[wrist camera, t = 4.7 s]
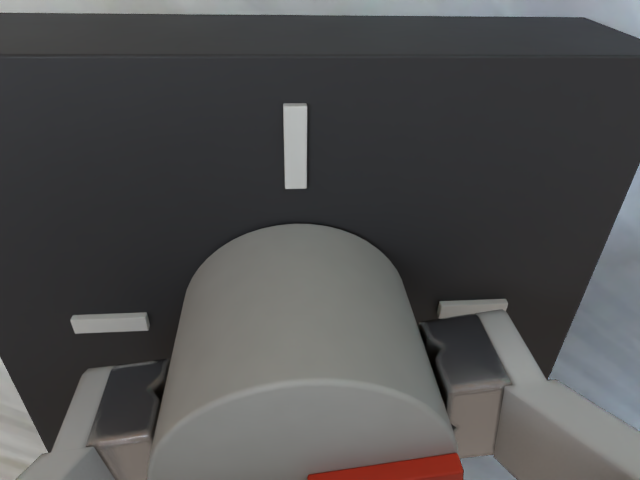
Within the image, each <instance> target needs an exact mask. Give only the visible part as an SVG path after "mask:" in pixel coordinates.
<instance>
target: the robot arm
mask: <svg viewBox="0 0 640 480" xmlns="http://www.w3.org/2000/svg"><path fill="white" fill-rule="evenodd" d="M418 329H419V332H420V335H421V338H422V341H423V344H424V347H425V350H426V352H427V355H428V358H429V361H430V364H431V367H432V370H433V373H434V376H435V379H436V382H437V385H438V388H439V391H440V394H441V397H442V399H443V402H444V405H445V408H446V411H447V414H448V417H449V420H450V423H451V426H452V429H453V432H454V435H455V438H456V441H457V445H458V455H459V458H468V457H477V456H485V455H493V454H494V458H495V459H496V460H497V461H498V462H499V463H500V464H501V465H502V466H503V467H504V468H505V469H507V470H508V471H509V472H510V473H511V474H512V475H513V476H514V477H515V478H516V479H517V480H640V431H638V430H636V429H635V428H633V427H632V426H630V425H628V424H627V423H625V422H624V421H622V420H620V419H619V418H617V417H616V416H614V415H612V414H611V413H609V412H608V411H606V410H604V409H603V408H601V407H599V406H598V405H596V404H595V403H593V402H591V401H590V400H588V399H587V398H585V397H583V396H582V395H580V394H579V393H577V392H575V391H574V390H572V389H571V388H569V387H567V386H566V385H564V384H562V383H561V382H559V381H558V380H556V379H555V380H546V378H545V376H544V375H543V373H542V371H541V369H540V368H539V366H538V364H537V363H536V361H535V359H534V358H533V356H532V354H531V352H530V351H529V349H528V347H527V346H526V344H525V342H524V341H523V339H522V337H521V335H520V334H519V332H518V330H517V329H516V327H515V325H514V324H513V322H512V320H511V318H510V317H509V315H508V313H507V312H505V311H504V310H503V309H499V310H493V311H486V312H480V313H475V314H466V315H460V316H453V317H447V318H440V319H434V320H428V321H421V322H419V326H418ZM170 361H171V358H168V359H160V360H151V361H143V362H134V363H126V364H118V365H113V366H105V367H97V368H88V369H87V370H86V371H85V372H84V374H83V375H82V376H81V378H80V380H79V383H78V385H77V388H76V390H75V393H74V396H73V398H72V401H71V403H70V406H69V408H68V411H67V413H66V416H65V418H64V421H63V423H62V426H61V428H60V431H59V433H58V436H57V438H56V441H55V443H54V446H53V448H52V451H51V452H50V453H44V454H41V455H40V456H39V457H38V458H37V459H36V460H35V461H34V462H33V463H32V464H31V465H30V466H29V467H28V468H27V469H26V470H25V471H24V472H23V473H22V474H21V475H20V476H19V477H17V478H16V479H15V480H147V466H148V461H149V457H150V452H151V448H152V443H153V439H154V434H155V430H156V425H157V420H158V416H159V411H160V407H161V402H162V398H163V393H164V389H165V384H166V380H167V375H168V371H169V366H170Z"/></svg>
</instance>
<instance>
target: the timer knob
mask: <svg viewBox="0 0 640 480" xmlns="http://www.w3.org/2000/svg"><path fill="white" fill-rule="evenodd" d="M463 473H464V470H463V467H462V464H461V461H460V458H459V455H458V445H457V441H456V438H455V435H454V432H453V429H452V426H451V423H450V420H449V417H448V414H447V411H446V408H445V405H444V402H443V399H442V397H441V394H440V391H439V388H438V385H437V382H436V379H435V376H434V373H433V370H432V367H431V364H430V361H429V358H428V355H427V352H426V350H425V347H424V344H423V341H422V338H421V335H420V332H419V329H418V326H417V323H416V320H415V317H414V314H413V311H412V308H411V305H410V302H409V300H408V297H407V294H406V291H405V288H404V285H403V282H402V279H401V277H400V275H399V273H398V271H397V269H396V268H395V267H394V265H393V264H392V263H391V261H390V260H389V259H388V258H387V257H386V256H385V255H384V254H383V253H382V252H381V251H380V250H378V249H377V248H376V247H374V246H373V245H372V244H370V243H369V242H367V241H365V240H364V239H362V238H360V237H358V236H356V235H354V234H351V233H349V232H346V231H343V230H341V229H336V228H332V227H328V226H323V225H315V224H284V225H276V226H271V227H266V228H262V229H258V230H255V231H252V232H249V233H246V234H244V235H242V236H240V237H238V238H236V239H234V240H232V241H230V242H228V243H227V244H225V245H224V246H222V247H221V248H219V249H218V250H217V251H216V252H214V253H213V254H212V255H211V256H210V257H208V258H207V259H206V260H205V262H204V263H203V264H202V265H201V266H200V267H199V268H198V270H197V271H196V273H195V274H194V276H193V277H192V279H191V281H190V283H189V286H188V288H187V290H186V294H185V298H184V302H183V307H182V312H181V316H180V321H179V325H178V330H177V334H176V339H175V343H174V348H173V352H172V357H171V361H170V366H169V371H168V375H167V380H166V384H165V389H164V393H163V398H162V402H161V407H160V411H159V416H158V420H157V425H156V430H155V434H154V439H153V443H152V448H151V452H150V457H149V461H148V466H147V480H463Z"/></svg>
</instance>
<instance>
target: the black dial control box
mask: <svg viewBox="0 0 640 480" xmlns="http://www.w3.org/2000/svg"><path fill="white" fill-rule="evenodd" d="M639 164H640V39H639V38H636V37H634V36H631V35H628V34H626V33H623V32H621V31H618V30H615V29H613V28H610V27H607V26H605V25H602V24H600V23H597V22H594V21H592V20H589V19H586V18H568V17H439V16H310V15H181V14H53V13H0V357H1V359H2V361H3V363H4V365H5V367H6V369H7V371H8V373H9V375H10V377H11V379H12V381H13V383H14V385H15V387H16V389H17V391H18V393H19V395H20V397H21V399H22V401H23V403H24V405H25V407H26V409H27V411H28V413H29V415H30V417H31V419H32V421H33V423H34V425H35V427H36V429H37V431H38V433H39V435H40V437H41V439H42V441H43V443H44V445H45V447H46V449H47V451H48V453H50V452H51V451H52V448H53V446H54V443H55V441H56V438H57V436H58V433H59V431H60V428H61V426H62V423H63V421H64V418H65V416H66V413H67V411H68V408H69V406H70V403H71V401H72V398H73V396H74V393H75V390H76V388H77V385H78V383H79V380H80V378H81V376H82V375H83V374H84V372H85V371H86V370H87V369H88V368H97V367H105V366H113V365H118V364H126V363H134V362H143V361H151V360H160V359H168V358H171V357H172V352H173V348H174V343H175V339H176V334H177V330H178V325H179V321H180V316H181V312H182V307H183V302H184V298H185V294H186V290H187V288H188V286H189V283H190V281H191V279H192V277H193V276H194V274H195V273H196V271H197V270H198V268H199V267H200V266H201V265H202V264H203V263H204V262H205V260H206V259H207V258H208V257H210V256H211V255H212V254H213V253H214V252H216V251H217V250H218V249H219V248H221V247H222V246H224V245H225V244H227V243H228V242H230V241H232V240H234V239H236V238H238V237H240V236H242V235H244V234H246V233H249V232H252V231H255V230H258V229H262V228H266V227H271V226H276V225H284V224H315V225H323V226H328V227H332V228H336V229H341V230H343V231H346V232H349V233H351V234H354V235H356V236H358V237H360V238H362V239H364V240H365V241H367V242H369V243H370V244H372V245H373V246H374V247H376V248H377V249H378V250H380V251H381V252H382V253H383V254H384V255H385V256H386V257H387V258H388V259H389V260H390V261H391V263H392V264H393V265H394V267H395V268H396V269H397V271H398V273H399V275H400V277H401V279H402V282H403V285H404V288H405V291H406V294H407V297H408V300H409V302H410V305H411V308H412V311H413V314H414V317H415V320H416V323H417V326H419V322H421V321H428V320H434V319H440V318H447V317H453V316H460V315H466V314H475V313H480V312H486V311H493V310H499V309H503V310H504V311H505V312H507V313H508V315H509V317H510V318H511V320H512V322H513V324H514V325H515V327H516V329H517V330H518V332H519V334H520V335H521V337H522V339H523V341H524V342H525V344H526V346H527V347H528V349H529V351H530V352H531V354H532V356H533V358H534V359H535V361H536V363H537V364H538V366H539V368H540V369H541V371H542V373H543V375H544V376H545V378H546V380H548V377H549V375H550V373H551V370H552V368H553V366H554V363H555V361H556V359H557V356H558V354H559V352H560V349H561V347H562V345H563V342H564V340H565V338H566V335H567V333H568V330H569V328H570V326H571V323H572V321H573V319H574V316H575V314H576V312H577V309H578V307H579V305H580V302H581V300H582V298H583V295H584V293H585V291H586V288H587V286H588V283H589V281H590V279H591V276H592V274H593V272H594V269H595V267H596V265H597V262H598V260H599V258H600V255H601V253H602V251H603V248H604V246H605V243H606V241H607V239H608V236H609V234H610V232H611V229H612V227H613V225H614V222H615V220H616V218H617V215H618V213H619V211H620V208H621V206H622V204H623V201H624V199H625V196H626V194H627V192H628V189H629V187H630V185H631V182H632V180H633V178H634V175H635V173H636V171H637V168H638V166H639Z"/></svg>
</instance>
